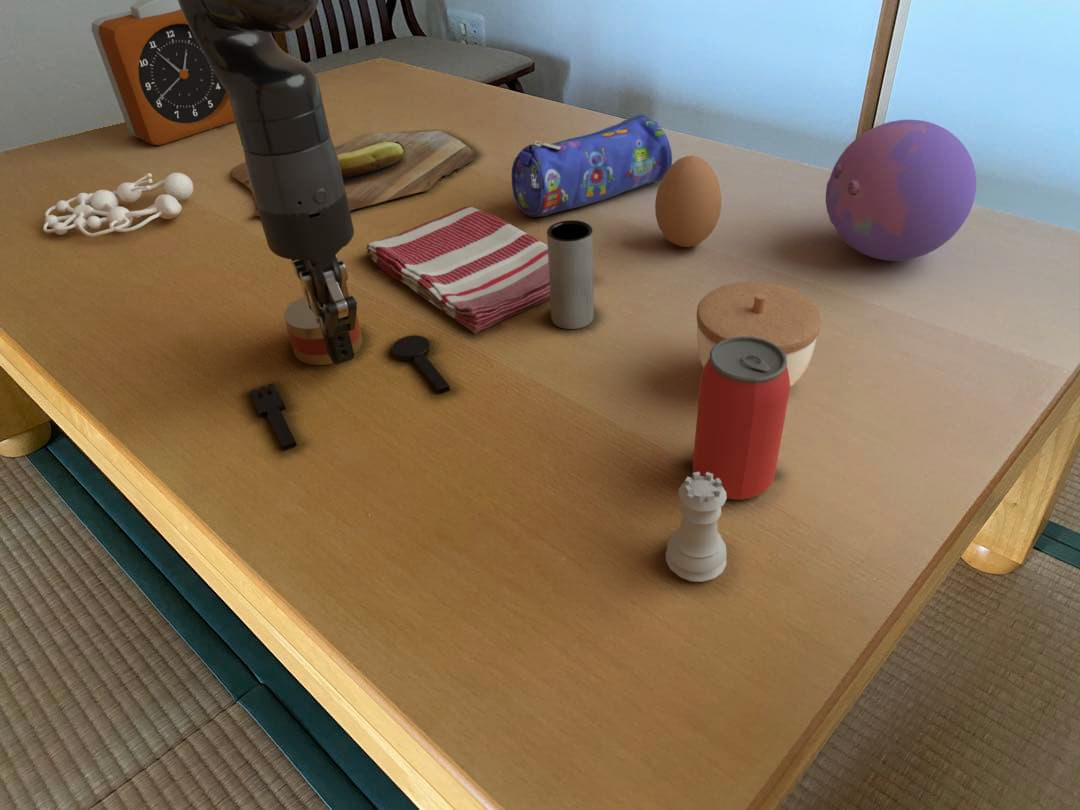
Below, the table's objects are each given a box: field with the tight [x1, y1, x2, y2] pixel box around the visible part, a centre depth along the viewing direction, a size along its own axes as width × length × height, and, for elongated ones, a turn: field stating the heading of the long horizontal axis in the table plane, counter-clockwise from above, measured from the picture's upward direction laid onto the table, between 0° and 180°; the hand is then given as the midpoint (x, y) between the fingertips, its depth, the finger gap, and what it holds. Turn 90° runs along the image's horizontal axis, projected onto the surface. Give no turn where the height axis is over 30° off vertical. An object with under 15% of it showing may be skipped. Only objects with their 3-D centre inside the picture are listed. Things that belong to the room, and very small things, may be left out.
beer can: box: [692, 336, 791, 501], centre depth 64 cm, size 7×7×12 cm
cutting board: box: [231, 130, 477, 217], centre depth 120 cm, size 35×27×4 cm
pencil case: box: [511, 114, 673, 218], centre depth 107 cm, size 22×9×10 cm, turn 119°
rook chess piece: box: [665, 472, 728, 583], centre depth 58 cm, size 4×4×8 cm
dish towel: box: [365, 205, 550, 334], centre depth 96 cm, size 17×23×3 cm
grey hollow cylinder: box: [546, 219, 595, 330], centre depth 84 cm, size 4×4×10 cm
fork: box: [249, 382, 298, 451], centre depth 76 cm, size 10×2×1 cm, turn 29°
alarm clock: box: [91, 0, 235, 147], centre depth 134 cm, size 18×9×21 cm, turn 136°
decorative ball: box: [825, 119, 977, 262], centre depth 90 cm, size 15×15×15 cm
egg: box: [654, 155, 722, 248], centre depth 95 cm, size 8×8×11 cm
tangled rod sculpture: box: [42, 172, 194, 238], centre depth 111 cm, size 19×14×4 cm
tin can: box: [283, 296, 363, 366], centre depth 84 cm, size 7×7×4 cm
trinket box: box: [696, 281, 822, 388], centre depth 74 cm, size 11×11×9 cm
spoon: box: [392, 334, 451, 395], centre depth 82 cm, size 10×4×1 cm, turn 29°
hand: (342, 358), depth 80 cm, fingers closed
